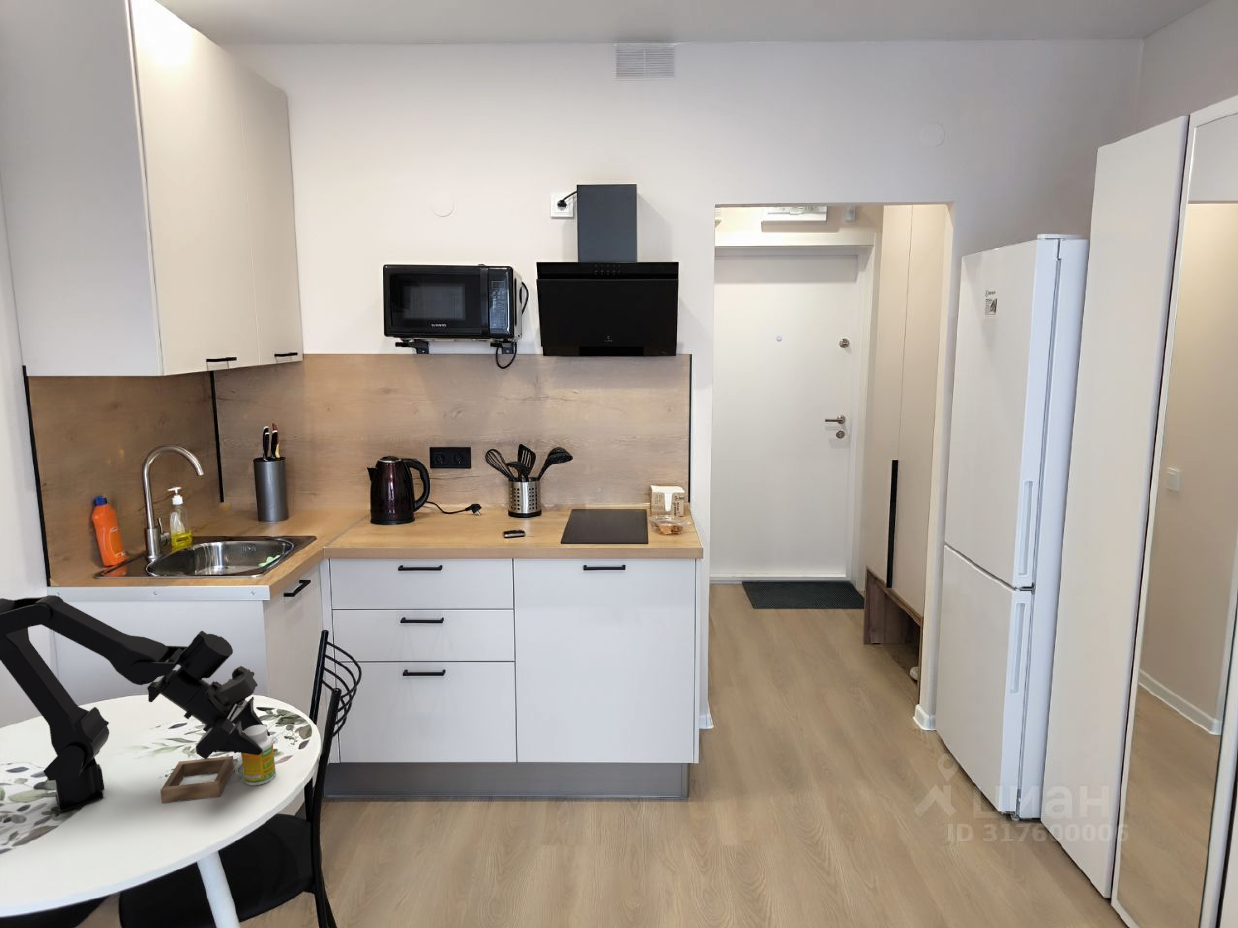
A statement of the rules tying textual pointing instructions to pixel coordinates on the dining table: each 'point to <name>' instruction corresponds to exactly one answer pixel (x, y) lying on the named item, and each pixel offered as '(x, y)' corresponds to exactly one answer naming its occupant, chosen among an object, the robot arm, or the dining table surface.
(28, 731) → the dining table surface
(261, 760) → the supplement bottle
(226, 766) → the walnut collar
